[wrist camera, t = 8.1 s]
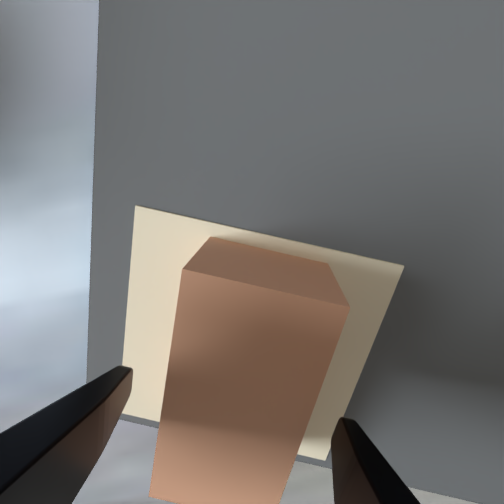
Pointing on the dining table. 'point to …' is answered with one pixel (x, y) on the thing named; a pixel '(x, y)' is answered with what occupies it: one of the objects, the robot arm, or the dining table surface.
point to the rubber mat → (317, 203)
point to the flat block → (243, 372)
